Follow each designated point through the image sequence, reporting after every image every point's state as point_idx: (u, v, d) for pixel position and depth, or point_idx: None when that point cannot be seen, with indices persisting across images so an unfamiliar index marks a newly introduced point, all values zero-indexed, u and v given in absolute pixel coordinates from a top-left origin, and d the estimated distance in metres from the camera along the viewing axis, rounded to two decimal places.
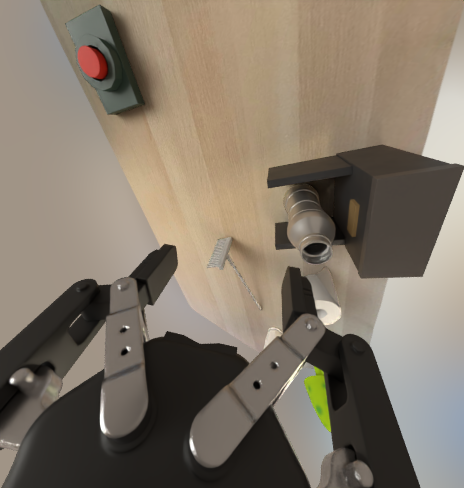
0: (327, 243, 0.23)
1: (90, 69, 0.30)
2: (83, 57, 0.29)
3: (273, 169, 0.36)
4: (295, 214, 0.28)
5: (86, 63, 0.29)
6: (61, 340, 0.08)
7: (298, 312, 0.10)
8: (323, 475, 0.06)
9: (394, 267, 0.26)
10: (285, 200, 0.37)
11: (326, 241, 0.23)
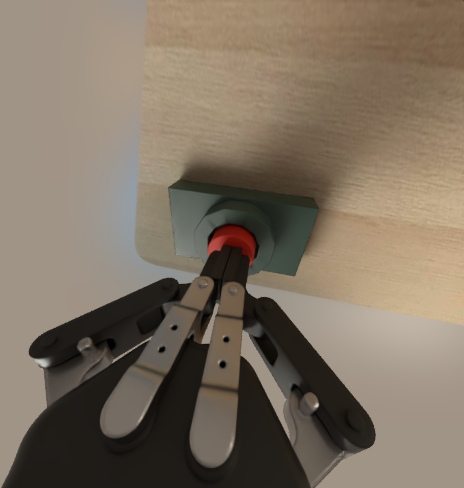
0: None
1: None
2: None
3: None
4: None
5: None
6: (128, 326, 0.09)
7: (227, 281, 0.11)
8: (289, 425, 0.07)
9: None
10: None
11: None
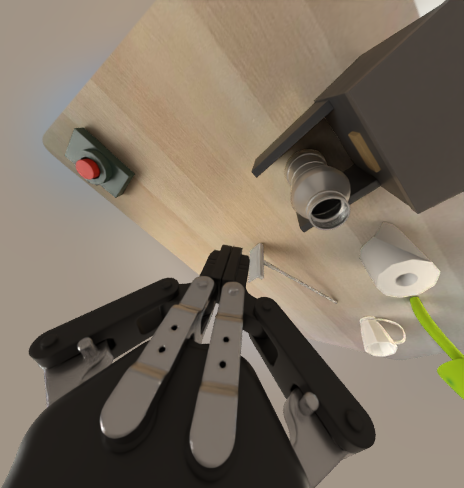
0: (334, 196, 0.18)
1: (87, 173, 0.37)
2: (80, 168, 0.37)
3: (258, 157, 0.34)
4: (292, 186, 0.24)
5: (84, 171, 0.37)
6: (128, 326, 0.09)
7: (227, 281, 0.11)
8: (289, 425, 0.07)
9: (458, 176, 0.17)
10: (286, 178, 0.33)
11: (332, 194, 0.18)
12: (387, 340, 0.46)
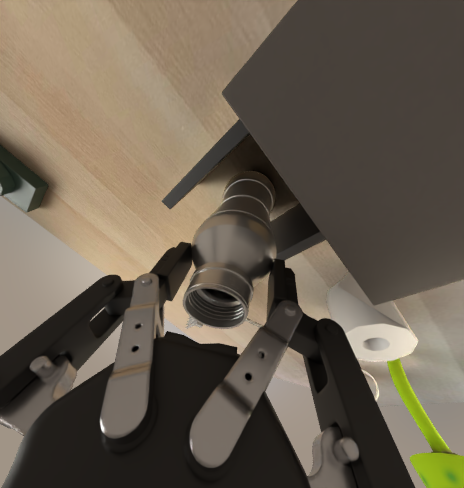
0: (215, 284, 0.10)
1: None
2: None
3: None
4: None
5: None
6: (81, 332, 0.08)
7: (279, 299, 0.10)
8: (315, 458, 0.06)
9: (439, 261, 0.10)
10: None
11: (214, 279, 0.10)
12: None
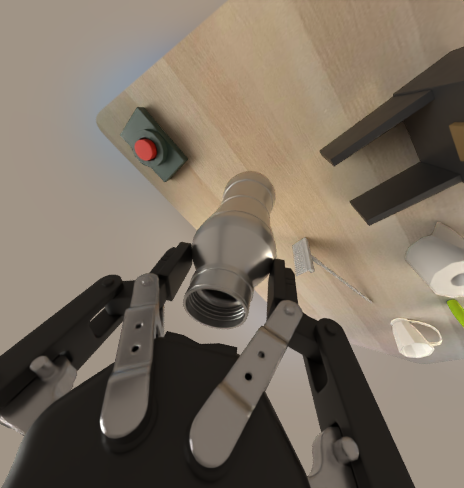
0: (215, 285, 0.10)
1: (146, 154, 0.37)
2: (139, 148, 0.36)
3: (326, 148, 0.34)
4: None
5: (142, 152, 0.37)
6: (81, 332, 0.08)
7: (279, 299, 0.10)
8: (315, 457, 0.06)
9: None
10: None
11: (215, 280, 0.10)
12: (424, 341, 0.46)
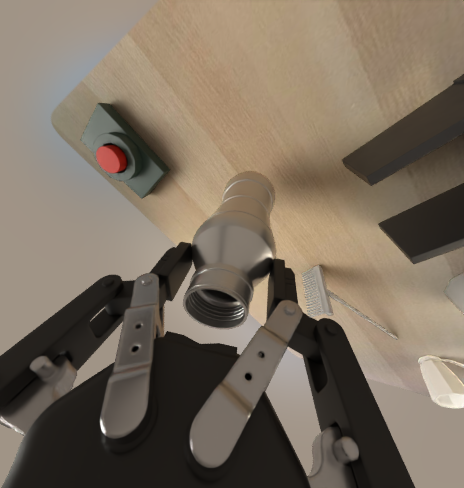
0: (215, 285, 0.10)
1: (111, 165, 0.28)
2: (102, 158, 0.27)
3: (352, 157, 0.25)
4: None
5: (106, 162, 0.28)
6: (81, 332, 0.08)
7: (279, 299, 0.10)
8: (315, 458, 0.06)
9: None
10: None
11: (214, 280, 0.10)
12: None
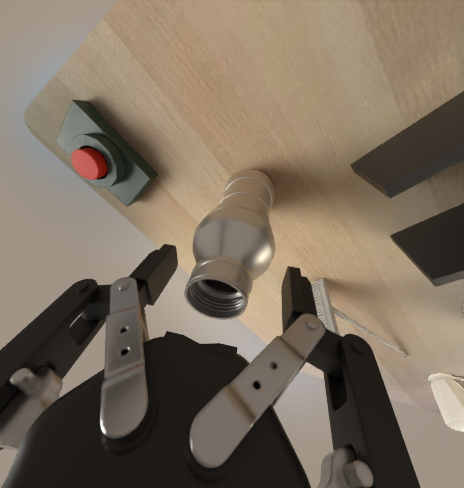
0: (215, 275, 0.10)
1: (89, 171, 0.24)
2: (78, 163, 0.24)
3: (364, 162, 0.21)
4: None
5: (83, 168, 0.24)
6: (61, 340, 0.08)
7: (298, 312, 0.10)
8: (323, 475, 0.06)
9: None
10: None
11: (215, 271, 0.10)
12: None
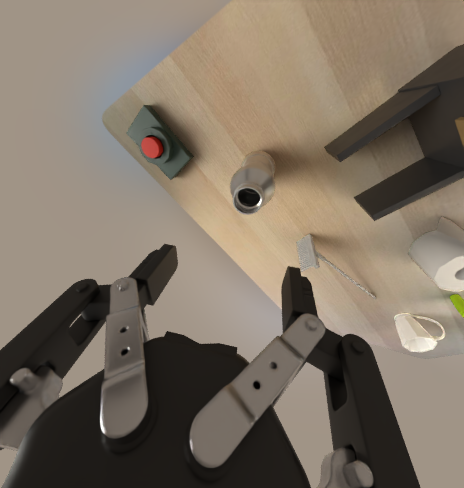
0: (248, 186, 0.23)
1: (152, 152, 0.37)
2: (145, 146, 0.37)
3: (331, 145, 0.34)
4: None
5: (148, 150, 0.37)
6: (61, 340, 0.08)
7: (298, 312, 0.10)
8: (323, 475, 0.06)
9: None
10: None
11: (248, 185, 0.23)
12: (428, 336, 0.47)
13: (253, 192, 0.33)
